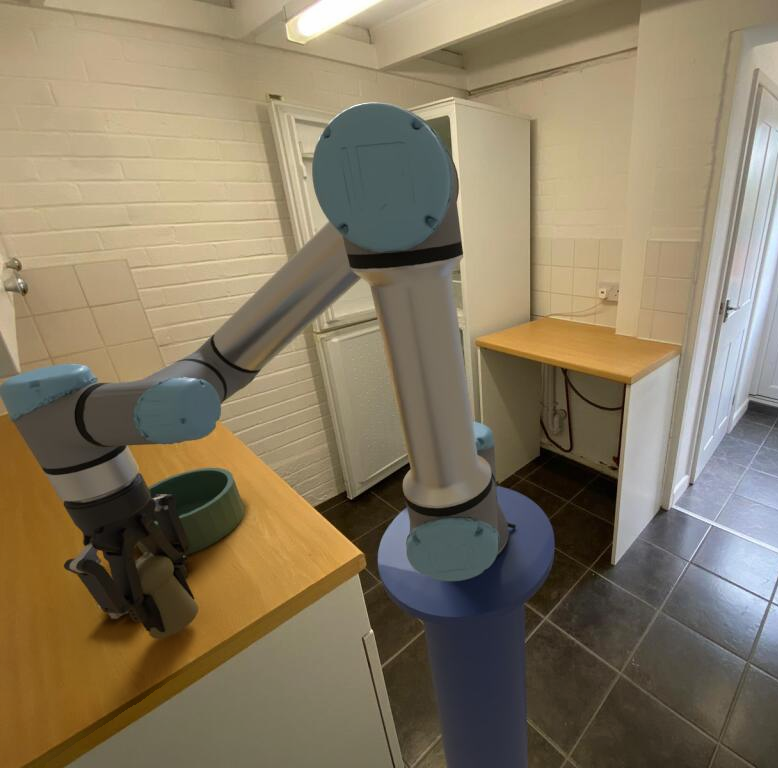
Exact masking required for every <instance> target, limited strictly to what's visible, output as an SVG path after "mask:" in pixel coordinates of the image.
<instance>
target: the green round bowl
mask: <svg viewBox="0 0 778 768" xmlns="http://www.w3.org/2000/svg"><path fill="white" fill-rule="evenodd" d="M147 487H148V489H149V491H150V493H151V498H153V497H154V496H155V495H157V494H164V495H175V498H176V511H177V513H178V515H179V518H180V520H181V523H182V525H183V528H184V530H185V532H186V535H187V537H188V540H189V542H190V544H191V550H190V551H189V552H188V553H185V554H184V556H185V557H186V556H188V555H191V554H194V553H196V552H199V551H201V550H204V549H206V548H208V547H209V546H210V547H211V546H212V545H214V544H215V543H217V542H219V541H220V540H222V539H223V538H225V537H226V536H227V535H228V534H230V533H231V532H232V531H233V530H234V529H235V528H236V527H237V526H238V525H239V524H240V522H241V521H242V519H243V518H244V514H245V506H244V503H243V500H242V497H241V495H240V492H239V489H238V486H237V484H236V481H235V478H234V475H233V473H232V472H231V471H229V470H228V469H224V468H222V467H204V468H196V469H192V470H188V471H183V472H180V473H177V474H174V475H171V476H169V477H166V478H164V479H162V480H160V481H157V482H155V483H153V484H152V485H150V486H147ZM153 522H154V523H155V524H156V525H157V526H158V527H159V525H158V522H157V520H156V518H155V515H154V517H153ZM159 528H160V527H159ZM160 533H161V534H162V531H161V532H160ZM162 535H163V534H162ZM136 546H137V547H138V549H139V550H140V552H141V554H142V555H144V553H145V552H147V551H149V550H148V549H147V548H146V547H145V546H144V545H143V544H142V543H141V542H140V541H138V542H137V544H136ZM148 553H151V552H150V551H149V552H148Z"/></svg>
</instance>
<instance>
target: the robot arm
mask: <svg viewBox="0 0 778 768" xmlns="http://www.w3.org/2000/svg"><path fill="white" fill-rule="evenodd" d="M311 175H312V176H311V178H312V184H313V185H312V186H313V189H314V194H315V197H316V200H317V202H318V205H319V207H320V209H321V210H322V213H323V214H324V216H325V218H326V219H327V222H326V223H325V224H324V225H323V226H322V227H321V228H320V229H319V230H318V231H317V232H315V234H313V236H312V237H310V239H309V240H308V241H307V242H306V243H305V244H304V245H303V246H301V248H300V249H299V250H298V251H297V252H295V254H294V255H292V256H291V257H290V258H289V260H287V261H286V262H285V263H284V264H283V265H282V266H281V267H280V268H279V269H278V270H277V271H276V272H275V273H274V274H273V275H272V276H271V277H270V278H269V279H268V280H267V281H266V282H264V283H263V284H262V286H261V287H260V288H259V289H258V290H257V291H255V293H254V294H253V295H252V296H250V298H248V300H246V301H245V303H244V304H243V305H242V306H240V307H239V308H238V309H237V310H236V311H235V312H234V313H233V314H232V315H231V316H230V317H229V318H228V319H227V320H226V321H225V322H224V323H223V324H222V325H221V326H220V327H218V329H217V330H216V331H215V332H214V333H213V334H212V335H211V336H210V337H209V338H208V339H207V340H206V341H205V342H204V343H203V344H202V345H201V346H200V347H199V348H197V349H196V350H195V351H193V352H192V353H191V354H189V355H186V356H185V357H183V358H182V359H181V358H180V360H176V361H175V362H173V363H172V364H170V365H168V366H165V367H164V368H162V369H159V370H158V371H156V372H154V373H152V374H150V375H148V376H146V377H145V378H142V379H138V380H131V381H121V382H120V381H119V382H98V377H97V376H96V375H94V373H93V372H92V370H91V368H90V367H89V366H87V365H84V364H78V363H64V364H56V365H55V364H54V365H50V366H44V367H40V368H36V369H32V370H28V371H26V372H22V373H20V374H16V375H14V376H12V377H10V378H8V379H6V380H4V381H3V382H2V383H1V384H0V398H1V400H2V403H3V405H4V407H5V409H6V411H7V413H8V415H9V418H8V419H9V421H10V422H13V425H15V428H16V429H17V431H18V433H19V434H20V436H21V437H22V438H23V440H24V442H25V443H26V445H27V447H28V448H29V450H30V451H31V453H32V455H33V456H34V458H35V460H36V462H37V463H38V465H39V466H40V468H41V470H42V471H43V472H44V474H45V476H46V478H47V479H48V481H49V482H50V484H51V486H52V488H53V489H54V491H55V492H56V495H57V496H58V498H59V500H62V501H63V507H64V509H65V510H66V513H68V515H69V517H70V519H71V520H72V523H74V525H75V526H76V527H77V528H78V529H79V530H80V531H81V533H82V536H83V539H82V544H83V546H84V547H83V549H82V550H81V551H80V552H79V553H78V555H76V557H75V558H69V559H67V560H66V561H65V562H64V564H63V568H64V569H65V570H67V571H68V572H71V573H73V574H75V575H77V576H78V578H79V579H80V581H81V582H82V583H83V585H84V587H86V589H87V590H88V592H89V593H90V595H91V596H92V598H93V599H94V600H95V602H96V603H97V605H98V607H99V606H100V607H101V608H100V609H101V611H103V613H106V614H109V613H118V614H124V613H126V612H128V613H126V614H128V615H129V617H130V619H131V620H132V621H134V622H139V623H141V624H142V625H143V627H144V629H145V631H146V632H149V631H150V628H156V629H157V630H159V631H160V632H165V628H164V625H163V621H162V618H161V615H160V611H159V609H158V607H157V606H156V604H155V602H154V600H153V598H152V596H151V595H143V592H142V588H141V584H140V580H139V576H138V571H137V567H136V563H135V562H136V561H135V560H136V559H135V557H136V555H137V549H136V546H137V542H138V541H140V542H141V543H142V544H143V545H144V546H145V547H146V548H147V549H148V550H149V551H150V552H151V553H152V554H153V555H154V556H156V555H163V556H165V557H168V558H169V559H170V560H171V561H172V563H173V566H174V572H173V575H174V576H175V577H176V579H177V580H178V581H179V583H180V584H181V585H182V587H183V588H184V589H185V590H186V591H187V592H188V594H189V595H190V596H191V597H192V598H193V600H194V601H195V599H196V598H195V597H194V595H193V592H192V591H191V588H190V586H189V585H188V582H187V579H188V578H189V574H188V572H187V571H186V570H187V569H185V568H186V567H185V566H186V565H187V563H188V562H189V558H188V557H187V556H185V557H183V556H184V554H185V553H188V552H189V551H190V550H191V544H190V542H189V540H188V537H187V535H186V532H185V530H184V528H183V525H182V523H181V520H180V518H179V515H178V513H177V511H176V498H175V495H164V494H157V495H155V496H154V497H153V498H151V493H150V491H149V489H148V487H149V486H148V485H147V482H146V480H145V478H144V477H143V475H142V474H141V473H140V468H139V465H138V463H137V460H136V459H135V457H134V455H133V453H132V452H131V449H130V447H129V446H147V445H149V446H150V445H173V444H180V443H184V442H191V441H198V440H201V439H204V438H207V436H209V435H211V434H212V433H213V431H214V430H215V429H216V428H217V422H218V421H220V418H221V415H222V404H223V403H224V402H225V401H226V400H228V399H229V398H231V397H232V396H233V395H235V394H237V393H238V392H240V391H241V390H242V389H244V388H245V387H247V386H248V385H249V384H251V383H252V382H253V381H254V380H255V378H256V377H257V376H258V375H259V373H260V372H261V371H262V370H263V369H264V368H265V367H266V366H267V365H268V364H269V363H271V361H272V360H273V359H275V358H276V357H277V356H278V355H279V354H280V353H281V352H282V351H284V350H285V349H286V347H288V346H289V345H290V344H291V343H293V342H294V340H295V339H297V338H298V337H299V336H300V335H301V334H302V333H303V332H304V331H305V330H306V329H307V328H308V327H310V326H311V325H312V324H313V323H314V322H315V321H317V319H318V318H320V317H321V316H322V315H323V314H324V313H325V312H326V311H327V310H328V309H329V308H331V307H332V306H333V305H334V304H335V303H336V302H337V301H338V300H339V299H341V298H342V296H344V295H345V294H346V293H348V291H349V290H350V289H352V287H353V286H355V285H356V284H357V283H358V282H359V281H360V280H361V279H362V280H363V281H364V282H366V283H367V284H368V285H369V287H370V291H371V296H372V301H373V305H374V309H375V314H376V319H377V323H378V329H379V332H380V337H381V342H382V344H383V350H384V355H385V359H386V364H387V368H388V372H389V377H390V381H391V386H392V391H393V395H394V399H395V404H396V408H397V413H398V417H399V422H400V426H401V431H402V435H403V440H404V445H405V449H406V453H407V458H408V462H409V467H410V469H409V470H408V471H407V473H406V474H405V475H404V478H403V480H402V493H403V497H404V500H405V505H406V508H407V510H408V514H409V518H410V532H409V534H408V536H407V539H406V546H407V547H406V553H407V558H408V560H409V562H410V564H411V565H412V566H413V568H415V569H416V570H417V571H418V572H419V573H421V574H423V575H425V576H429V577H432V578H433V579H436V580H441V581H460V580H466V579H469V578H472V577H475V576H477V575H479V574H481V573H482V572H483V571H484V570H485V569H487V568H489V567H490V566H491V565H492V563H493V562H494V561H495V560H497V559H498V558H499V557H500V556H501V555H502V554H503V552H504V551H505V549H506V547H507V544H508V541H509V529H508V527H511V528H515V527H516V525H515V524H510V523H507V521H506V518H505V516H504V514H503V512H502V510H501V508H500V506H499V503H498V501H497V489H496V486H497V474H496V456H495V455H496V453H495V452H496V451H495V446H496V441H495V439H494V432H493V430H492V429H491V428H490V427H489V426H487V425H486V424H484V423H481V422H477V421H473V415H472V407H471V401H470V394H469V387H468V380H467V373H466V367H465V360H464V352H463V343H462V337H461V331H460V323H459V317H458V309H457V303H456V296H455V289H454V281H453V273H454V271H455V269H456V268H457V266H458V265H459V264H460V262H461V261H462V259H463V258H464V249H463V241H462V234H461V225H460V217H459V209H458V198H459V194H460V193H459V192H460V182H459V174H458V170H457V166H456V164H455V162H454V159H453V157H452V155H451V154H450V152H449V150H448V149H447V147H446V146H445V144H444V141H443V140H442V138H441V137H440V135H439V134H438V133H437V131H436V130H435V129H434V128H433V127H432V126H431V125H430V124H429V123H428V121H426V120H425V119H424V118H422V116H420V115H417V114H416V113H414V112H412V111H410V110H408V109H405V108H403V107H400V106H397V105H394V104H391V103H386V102H375V101H374V102H364V103H359V104H356V105H352V106H350V107H348V108H345V109H344V110H343V111H341V112H340V113H338V114H337V115H336V116H335V117H333V118H332V119H331V120H330V122H328V124H327V125H326V126H325V127H324V129H323V131H322V133H321V135H320V136H319V138H318V139H317V142H316V145H315V148H314V151H313V156H312V165H311ZM154 515H155V518H156V520H157V522H158V525H159V527H160V528H159V527H158V526H157V525H156V524H155V523H154V522H153V517H154ZM161 531H162V534H163V535H162V534H161V533H160V532H161ZM98 551H100V552H101V551H102V556H103V558H104V559H105V560H106V561H107V563H108V567H109V569H110V574H109V572H108V571H107V569H106V568H105V567H104V566H103V565H102V559H101V558H99V556H98V554H97V553H98ZM124 615H125V614H124Z"/></svg>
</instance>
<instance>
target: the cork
mask: <svg viewBox="0 0 778 768" xmlns="http://www.w3.org/2000/svg"><path fill="white" fill-rule="evenodd" d="M136 567H137V571H138V576H139V580H140V584H141V588H142V592H143V595H151V596H152V598H153V600H154V602H155V604H156V606H157V607H158V609H159V611H160V615H161V618H162V621H163V625H164V628H165V632H160V631H159V630H157V629H156V628H150V631H148V634H149V636H150V637H151V638H153V639H156V640H157V639H158V640H160V639H165V638H168V637H171V636H174V635H175V634H177V633H179V632H181V631H182V630H184V629H185V628H186V627H188V626H189V625H190V624H191V623H192V622H193V621H194V620H195V619H196V617H197V615H198V613H199V605H198V603H197V602H196V601H195V599H194V600H193V598H192V597H191V596H190V595H189V594H188V592H187V591H186V590H185V589H184V588H183V587H182V585H181V584H180V583H179V581H178V580H177V579H176V577H175V576H174V575H173V572H174V566H173V563H172V561H171V560H170V559H169V558H168V557H165V556H163V555H156V556H151V557H148V558H146V559H143V560H141V561H140V562H138V563H136Z"/></svg>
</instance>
